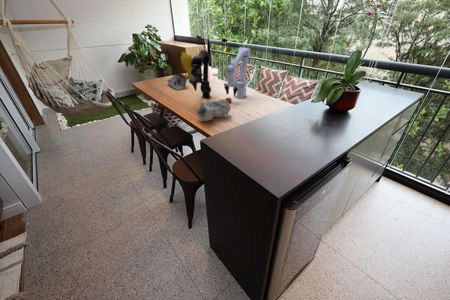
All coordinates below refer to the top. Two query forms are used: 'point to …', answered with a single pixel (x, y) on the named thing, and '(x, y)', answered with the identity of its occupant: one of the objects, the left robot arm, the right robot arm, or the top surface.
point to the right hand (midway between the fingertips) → (231, 94)
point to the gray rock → (177, 81)
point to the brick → (228, 100)
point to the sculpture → (187, 63)
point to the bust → (213, 110)
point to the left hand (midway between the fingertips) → (199, 91)
